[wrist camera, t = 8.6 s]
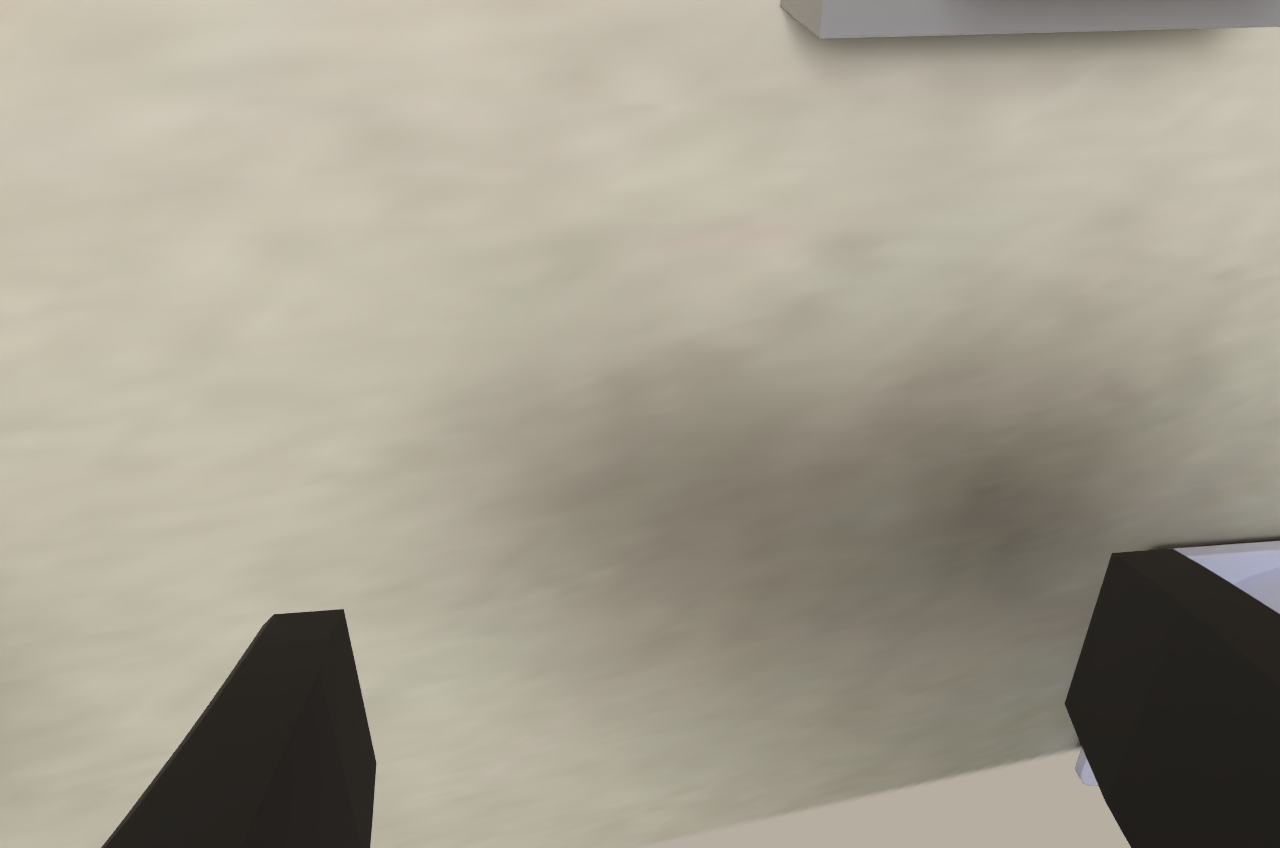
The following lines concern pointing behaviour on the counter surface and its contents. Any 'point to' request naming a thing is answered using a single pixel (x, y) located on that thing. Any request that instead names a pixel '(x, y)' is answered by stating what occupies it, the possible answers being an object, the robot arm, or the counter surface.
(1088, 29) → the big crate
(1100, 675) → the robot arm
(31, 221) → the counter surface
